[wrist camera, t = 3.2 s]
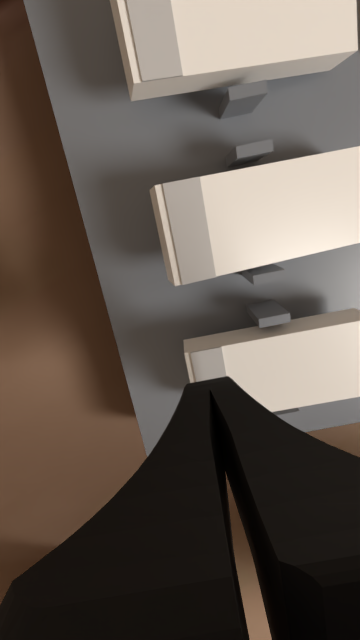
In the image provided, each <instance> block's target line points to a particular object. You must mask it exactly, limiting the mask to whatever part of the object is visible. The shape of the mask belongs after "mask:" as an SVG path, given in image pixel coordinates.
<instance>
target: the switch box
mask: <svg viewBox="0 0 360 640" xmlns="http://www.w3.org/2000/svg"><path fill="white" fill-rule="evenodd" d="M23 1H24V5H25V8H26V12H27V16H28V19H29V23H30V27H31V30H32V34H33V38H34V41H35V45H36V49H37V52H38V56H39V60H40V64H41V67H42V71H43V75H44V78H45V82H46V86H47V89H48V93H49V97H50V100H51V104H52V108H53V111H54V115H55V119H56V122H57V126H58V130H59V134H60V137H61V141H62V145H63V148H64V152H65V156H66V159H67V163H68V167H69V170H70V174H71V178H72V181H73V185H74V189H75V192H76V196H77V200H78V204H79V207H80V211H81V215H82V218H83V222H84V226H85V229H86V233H87V237H88V240H89V244H90V248H91V251H92V255H93V259H94V262H95V266H96V270H97V274H98V277H99V281H100V285H101V288H102V292H103V296H104V299H105V303H106V307H107V310H108V314H109V318H110V321H111V325H112V329H113V332H114V336H115V340H116V343H117V347H118V351H119V355H120V358H121V362H122V366H123V369H124V373H125V377H126V380H127V384H128V388H129V391H130V395H131V399H132V402H133V406H134V410H135V413H136V417H137V421H138V425H139V428H140V432H141V436H142V439H143V443H144V447H145V450H146V454H147V457H148V456H149V454H150V453H151V451H152V450H153V448H154V447H155V445H156V444H157V442H158V440H159V439H160V437H161V435H162V434H163V432H164V430H165V429H166V427H167V425H168V423H169V422H170V420H171V418H172V416H173V414H174V412H175V410H176V407H177V405H178V403H179V401H180V398H181V396H182V393H183V390H184V387H185V386H186V384H188V383H190V379H189V374H188V369H187V365H186V360H185V355H184V342H183V340H185V339H191V338H196V337H201V336H207V335H212V334H217V333H223V332H228V331H233V330H239V329H244V328H250V327H255V326H258V327H259V328H263V327H268V326H273V325H278V324H283V323H288V322H291V320H292V319H298V318H303V317H308V316H314V315H319V314H324V313H330V312H335V311H340V310H346V309H351V308H356V309H358V310H360V243H357V244H352V245H348V246H344V247H340V248H335V249H331V250H327V251H323V252H318V253H314V254H310V255H306V256H301V257H297V258H293V259H289V260H284V261H280V262H276V263H272V264H268V265H263V266H259V267H255V268H251V269H246V270H242V271H238V272H234V273H229V274H225V275H221V276H217V277H215V278H210V279H206V280H202V281H198V282H193V283H189V284H185V285H179V286H174V285H173V284H172V283H171V282H170V281H169V280H168V277H167V272H166V267H165V263H164V258H163V253H162V248H161V243H160V239H159V234H158V229H157V224H156V220H155V215H154V210H153V205H152V200H151V196H150V191H149V190H150V189H151V188H152V187H153V186H155V185H159V184H163V183H168V182H174V181H179V180H184V179H189V178H195V177H201V176H206V175H211V174H217V173H222V172H227V171H232V170H238V169H243V168H248V167H253V166H258V165H264V164H269V163H274V162H279V161H284V160H290V159H295V158H300V157H305V156H311V155H316V154H321V153H326V152H331V151H337V150H342V149H347V148H352V147H357V146H360V0H357V34H358V51H356V52H355V53H354V54H352V55H351V56H349V57H348V58H347V59H345V60H344V61H342V62H341V63H340V64H338V65H337V66H335V67H334V68H333V69H331V70H330V71H324V72H317V73H311V74H304V75H298V76H291V77H285V78H278V79H272V80H262V81H257V82H252V83H246V84H240V85H233V86H227V87H220V88H214V89H208V90H201V91H195V92H188V93H182V94H175V95H169V96H162V97H156V98H150V99H143V100H137V101H131V100H130V95H129V90H128V85H127V81H126V76H125V71H124V66H123V61H122V57H121V52H120V47H119V42H118V38H117V33H116V28H115V23H114V18H113V14H112V9H111V4H110V0H23ZM272 413H273V414H275V415H276V416H278V417H279V418H281V419H282V420H284V421H285V422H287V423H289V424H290V425H292V426H294V427H295V428H297V429H299V430H301V431H303V432H309V431H314V430H320V429H325V428H331V427H336V426H341V425H347V424H352V423H358V422H360V397H355V398H349V399H344V400H338V401H332V402H327V403H321V404H315V405H309V406H304V407H298V408H292V409H286V410H281V411H275V412H272Z"/></svg>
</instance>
